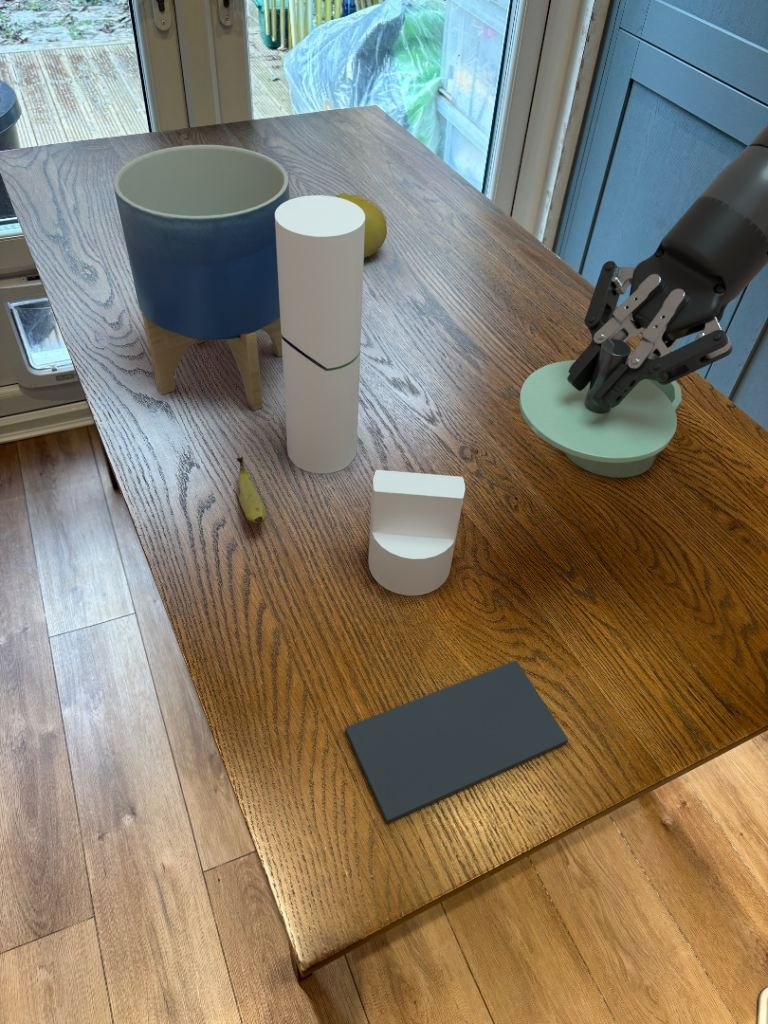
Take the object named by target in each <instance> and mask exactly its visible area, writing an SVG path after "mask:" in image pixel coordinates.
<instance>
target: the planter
mask: <svg viewBox="0 0 768 1024" xmlns="http://www.w3.org/2000/svg"><path fill="white" fill-rule="evenodd" d="M289 179H290V178H289V176H288V172H287V171H286V170H285V168H284V166H282V164H280V163H279V162H277V161H276V160H275V159H273V158H271V157H269V156H267V155H265V154H263V153H261V152H257V151H254V150H251V149H246V148H241V147H237V146H230V145H223V144H222V145H221V144H189V145H188V144H187V145H179V146H173V147H172V146H171V147H166V148H162V149H157V150H154V151H150V152H147V153H145V154H142V155H140V156H138V157H135V158H133V159H132V160H130V161H128V162H127V163H125V164H124V165H123V166H122V167H120V168H119V170H118V171H117V172H116V173H115V176H114V178H113V190H114V194H115V199H116V205H117V210H118V213H119V219H120V223H121V228H122V232H123V233H122V234H123V237H124V243H125V247H126V252H127V256H128V257H127V258H128V261H129V266H130V271H131V276H132V280H133V285H134V289H135V294H136V299H137V304H138V307H139V309H140V311H141V317H142V321H143V327H144V330H145V331H144V332H145V335H146V341H147V345H148V350H149V355H150V359H151V364H152V368H153V369H152V370H153V374H154V379H155V383H156V387H157V388H156V389H157V391H158V392H159V393H160V395H161V396H163V395H165V394H169V393H172V392H175V391H176V387H175V380H176V379H175V378H176V373H177V369H178V366H179V364H180V363H181V360H182V358H183V357H184V355H185V354H186V352H187V351H188V350H189V349H190V348H191V347H192V346H193V345H194V344H195V343H197V344H198V345H199V344H202V343H205V342H208V341H225V342H226V343H227V345H228V346H229V349H230V351H231V353H232V355H233V358H234V360H235V362H236V365H237V367H238V370H239V373H240V377H241V380H242V383H243V387H244V392H245V397H246V403H247V405H248V406H249V408H250V409H252V411H257V410H260V409H262V408H263V407H264V405H263V404H264V403H263V394H262V393H263V392H262V383H261V370H260V369H261V368H260V359H259V358H260V357H259V348H258V336H257V335H258V333H257V332H258V331H260V330H262V331H263V332H265V333H266V334H267V335H268V337H269V339H270V341H271V344H272V347H273V353H274V354H275V355H276V356H277V357H278V358H280V357H282V339H281V337H283V338H285V337H284V336H283V335H282V334H281V321H280V302H279V284H278V265H277V246H276V228H275V211H276V209H277V208H278V207H279V206H280V205H281V204H283V203H284V202H286V201H288V200H290V182H289Z"/></svg>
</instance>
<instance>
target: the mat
mask: <svg viewBox="0 0 768 1024" xmlns="http://www.w3.org/2000/svg"><path fill="white" fill-rule="evenodd" d="M344 730H345V735H346V737H347V739H348V741H349V743H350V745H351V747H352V750H353V752H354V754H355V756H356V759H357V761H358V763H359V765H360V767H361V770H362V772H363V774H364V776H365V779H366V781H367V783H368V785H369V788H370V790H371V792H372V794H373V797H374V798H375V801H376V803H377V805H378V808H379V811H380V812H381V814H382V817H383V819H384V821H385V823H386V824H390V823H393V822H395V821H397V820H399V819H401V818H404V817H407V816H409V815H411V814H413V813H415V812H418V811H419V810H422V809H424V808H426V807H429V806H431V805H432V804H435V803H437V802H440V801H442V800H444V799H446V798H449V797H451V796H453V795H455V794H457V793H459V792H462V791H464V790H466V789H468V788H470V787H473V786H475V785H477V784H480V783H482V782H484V781H486V780H489V779H491V778H493V777H495V776H498V775H500V774H502V773H504V772H506V771H508V770H511V769H513V768H515V767H517V766H521V765H523V764H524V763H527V762H529V761H531V760H533V759H535V758H538V757H540V756H542V755H544V754H547V753H549V752H551V751H554V750H555V749H557V748H560V747H563V746H564V745H567V744H568V742H569V738H568V736H567V735H566V734H565V732H564V731H563V729H562V727H561V726H560V725H559V723H558V721H557V720H556V719H555V717H554V716H553V714H552V712H551V711H550V709H549V707H548V706H547V705H546V703H545V701H544V700H543V698H542V697H541V695H540V694H539V692H538V691H537V689H536V688H535V687H534V684H533V683H532V682H531V680H530V679H529V677H528V676H527V675H526V672H525V671H524V669H523V668H522V667H521V665H520V663H519V662H518V660H513V661H510V662H508V663H505V664H502V665H500V666H497V667H495V668H493V669H490V670H488V671H485V672H483V673H480V674H478V675H475V676H472V677H470V678H467V679H465V680H462V681H460V682H457V683H454V684H452V685H450V686H447V687H444V688H442V689H439V690H437V691H434V692H432V693H429V694H427V695H424V696H422V697H419V698H416V699H414V700H411V701H409V702H406V703H404V704H402V705H399V706H397V707H394V708H391V709H388V710H386V711H384V712H383V711H382V712H381V713H378V714H376V715H374V716H371V717H369V718H366V719H363V720H361V721H358V722H355V723H353V724H351V725H348V726H345V729H344Z"/></svg>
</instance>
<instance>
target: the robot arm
mask: <svg viewBox="0 0 768 1024" xmlns="http://www.w3.org/2000/svg"><path fill="white" fill-rule="evenodd" d="M767 264H768V122H767V123H766V124H765V126H763V127H762V128H761V130H760V131H759V132H758V133H757V134H756V136H755V137H754V138H753V139H752V140H751V141H750V142H749V144H748V145H747V146H746V147H745V148H744V149H743V150H742V151H741V153H739V154H738V155H737V157H735V158H734V159H733V160H732V161H731V162H730V163H729V164H727V165H726V166H725V167H724V168H723V169H722V170H721V171H720V172H719V174H717V175H716V177H715V178H714V179H713V180H712V181H711V182H710V183H709V185H708V186H707V187H706V188H705V189H704V190H703V192H702V193H701V194H700V195H699V196H698V198H696V200H695V201H694V202H692V204H691V206H689V208H688V209H687V210H686V211H685V212H684V213H683V214H682V216H681V217H680V218H679V219H678V220H677V222H675V224H674V225H673V226H672V227H671V228H670V230H669V231H668V232H667V233H666V234H665V235H664V237H663V238H661V241H660V242H659V244H658V247H657V248H656V250H655V252H654V253H653V254H652V255H650V256H649V257H648V258H646V259H644V260H641V261H640V262H639V263H637V264H636V265H635V267H628V266H618V265H617V263H616V262H615V261H614V260H608V261H606V262H605V263H603V265H602V267H601V270H600V273H599V275H598V280H597V282H596V285H595V286H594V290H593V294H592V297H591V300H590V302H589V305H588V308H587V310H586V311H587V312H586V314H585V317H584V325H585V327H586V328H587V329H588V331H589V333H590V335H591V342H590V344H589V345H588V346H587V347H586V348H585V349H584V350H583V352H582V353H580V355H579V356H578V357H577V359H575V360H576V361H575V362H574V363H573V364H572V365H571V367H570V369H569V373H570V375H569V376H568V378H567V381H568V382H569V383H570V384H571V385H572V386H573V387H575V388H576V389H577V390H578V391H581V390H583V389H584V388H585V387H586V386H587V385H588V383H589V382H590V381H591V378H592V375H593V371H594V368H595V365H596V361H597V358H598V355H599V351H600V348H601V345H602V343H603V342H604V341H605V340H608V339H617V340H621V341H623V342H625V343H627V342H628V340H630V339H635V338H636V337H638V335H640V334H641V333H642V332H643V331H644V332H643V333H642V335H641V340H640V342H639V343H638V345H637V346H636V348H635V349H634V351H633V352H631V354H630V357H629V359H628V362H627V364H626V365H624V364H622V363H621V365H620V366H619V367H618V368H617V369H616V370H615V371H614V372H613V373H612V375H611V376H610V377H609V378H608V379H607V380H606V381H605V382H604V384H603V385H602V386H601V387H600V388H599V389H598V390H597V391H596V393H595V394H594V395H593V397H592V401H593V402H594V403H595V404H596V405H597V406H598V407H600V408H601V409H602V410H607V409H608V408H609V407H611V408H614V407H615V406H617V405H619V404H620V403H621V401H622V400H623V399H624V398H625V397H626V395H628V394H629V393H630V391H631V390H632V389H633V388H634V387H635V386H636V385H637V384H638V383H639V382H640V381H641V380H644V379H650V380H654V381H658V382H659V384H661V385H666V384H669V383H671V382H673V381H675V380H676V381H677V380H679V379H682V378H683V377H685V376H686V377H687V376H688V375H691V374H693V373H695V372H696V371H699V370H701V369H703V368H705V367H707V366H709V365H711V364H713V363H716V362H718V361H720V360H722V359H724V358H726V357H728V356H730V355H731V353H732V352H733V345H732V343H731V340H730V338H729V336H728V335H727V333H726V332H725V331H724V330H723V328H722V326H721V324H720V323H721V320H722V319H723V317H724V313H725V310H726V309H727V306H728V305H729V304H730V302H732V301H734V300H735V299H736V298H738V296H740V294H741V293H742V292H743V291H744V290H745V289H746V288H747V286H749V284H750V283H751V282H752V281H753V280H754V279H755V278H756V277H757V276H758V275H759V274H760V272H762V270H763V269H764V268H765V267H766V266H767ZM629 286H630V290H629V295H628V297H627V298H626V299H625V300H624V301H623V302H622V303H621V304H619V306H618V307H617V305H618V303H619V299H620V296H621V295H622V296H623V295H625V294H626V292H627V290H628V288H629ZM696 333H698V334H697V335H696V336H695V339H694V340H693V341H691V342H689V343H687V344H684V345H683V346H681V347H678V348H676V349H675V350H673V349H674V348H675V346H676V345H677V343H678V342H679V341H680V339H681V338H685V337H688V336H690V335H694V334H696Z"/></svg>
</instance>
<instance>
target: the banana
mask: <svg viewBox="0 0 768 1024" xmlns="http://www.w3.org/2000/svg"><path fill="white" fill-rule="evenodd" d="M236 461H237V462H238V463H239V467H240V468H239V476H238V479H237V481H238V483H237V495H238V501H239V504H240V506H241V509H242V512H243V513H244V515H245V517H246V519H247V520H248V521H250V522H253V523H256V524H261V523H263V522H264V521H266V519H267V510H266V507H265V504H264V502H263V500H262V498H261V495H260V493H259V490H258V489H257V486H256V483H255V481H254V479H253V478H252V476H251V475H250V473H248V471H247V469H246V466H245V463H244V456H241V457H236Z"/></svg>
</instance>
